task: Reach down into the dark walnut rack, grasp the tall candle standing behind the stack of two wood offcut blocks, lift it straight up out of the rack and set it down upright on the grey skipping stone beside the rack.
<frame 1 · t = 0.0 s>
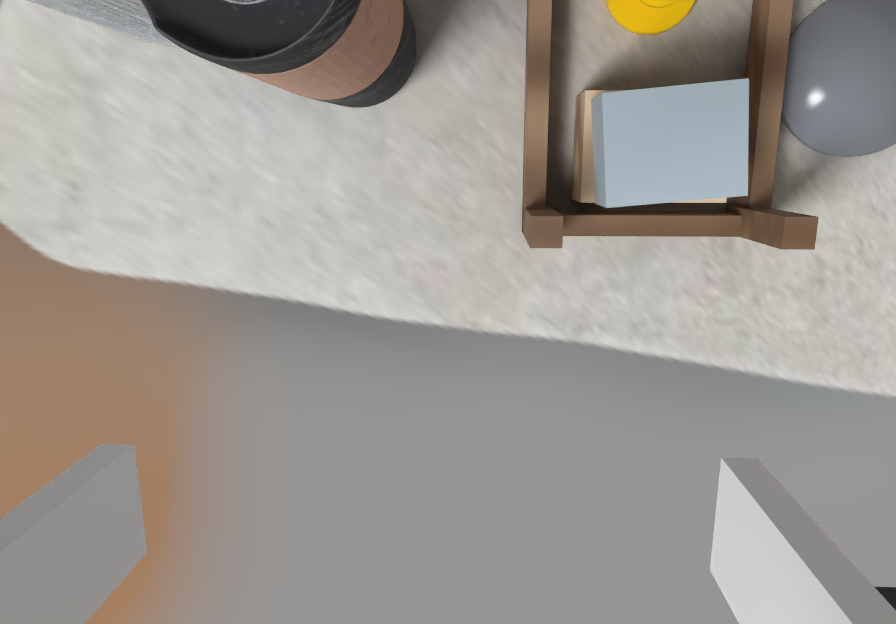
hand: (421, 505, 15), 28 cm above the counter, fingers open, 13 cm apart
rack: (645, 60, 38), on the counter
offcut upper: (657, 146, 36), point 4 cm above the counter, touching offcut lower
grey skipping stone: (855, 76, 38), on the counter
offcut lower: (639, 148, 40), resting in rack, touching offcut upper
travel mug: (358, 46, 39), on the counter
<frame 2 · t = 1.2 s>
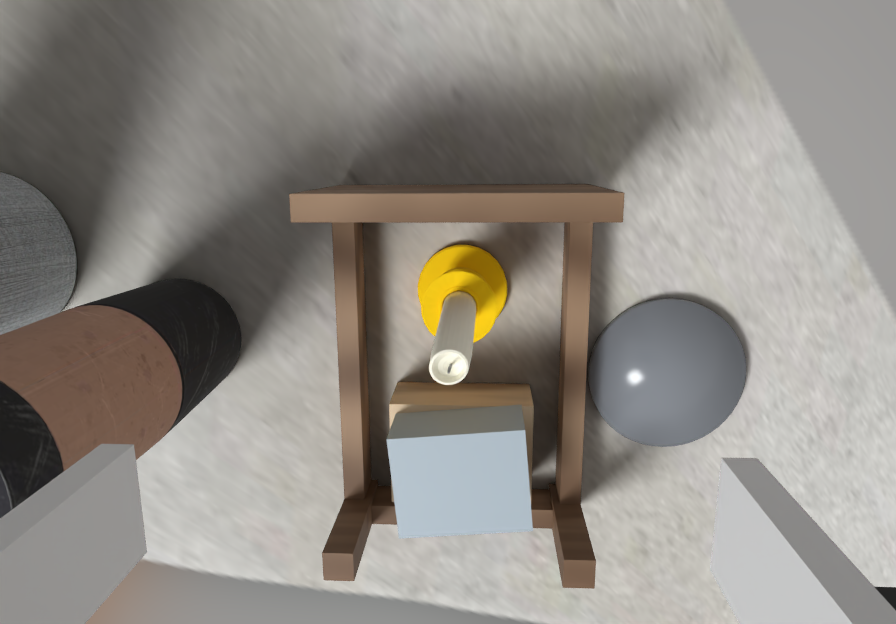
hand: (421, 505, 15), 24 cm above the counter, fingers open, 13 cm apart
rack: (462, 353, 39), on the counter
offcut upper: (462, 455, 37), point 4 cm above the counter, touching offcut lower
vase: (2, 253, 40), on the counter
grey skipping stone: (664, 372, 39), on the counter
candle: (462, 287, 39), resting in rack
offcut lower: (463, 427, 41), resting in rack, touching offcut upper
travel mug: (186, 334, 40), on the counter
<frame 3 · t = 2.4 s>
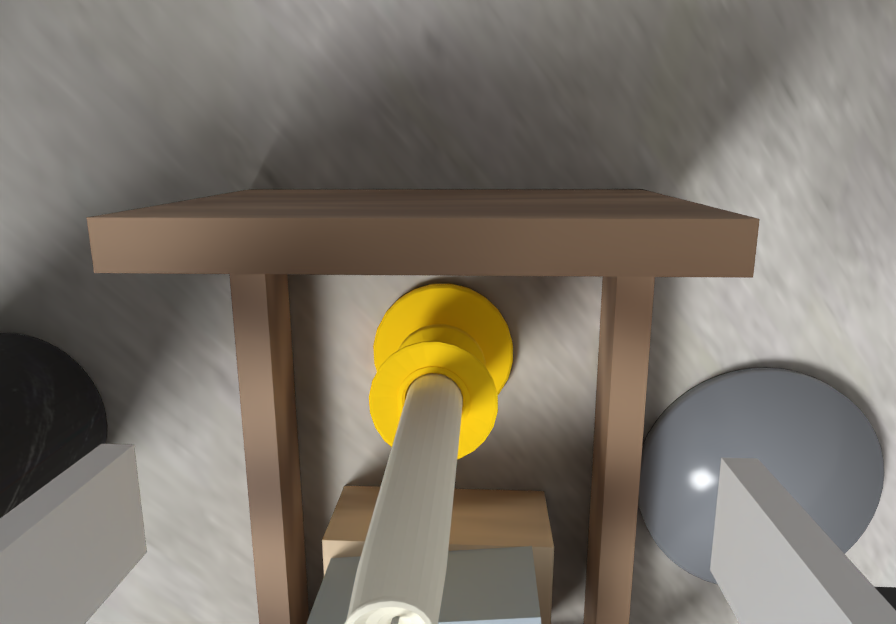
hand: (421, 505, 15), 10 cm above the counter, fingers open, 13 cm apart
rack: (444, 447, 26), on the counter
offcut upper: (438, 621, 23), point 4 cm above the counter
grey skipping stone: (753, 477, 25), on the counter
candle: (443, 348, 25), resting in rack
offcut lower: (443, 551, 27), resting in rack
travel mug: (25, 414, 26), on the counter
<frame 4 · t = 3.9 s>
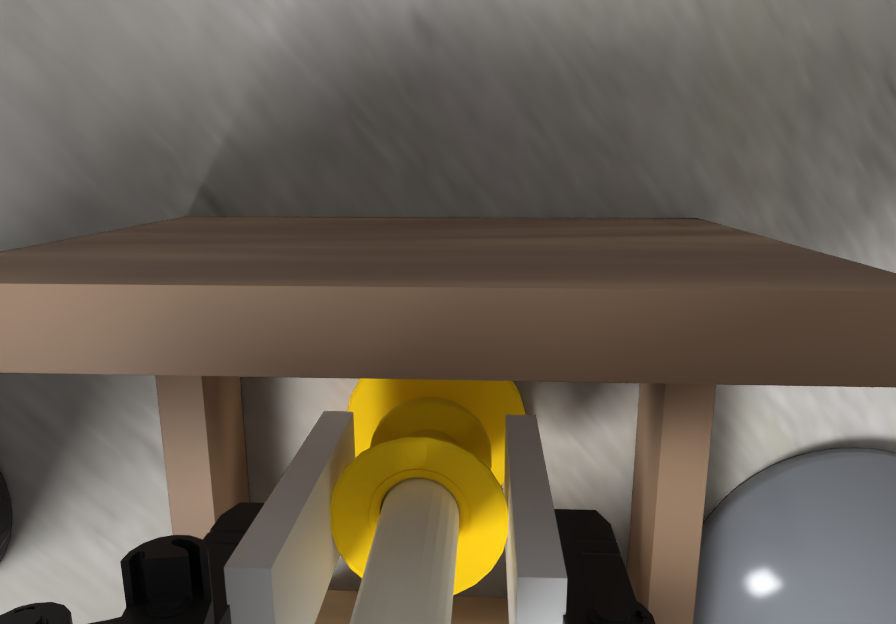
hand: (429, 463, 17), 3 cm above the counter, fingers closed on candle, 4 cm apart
rack: (437, 544, 20), on the counter
grey skipping stone: (835, 586, 20), on the counter
candle: (437, 420, 19), resting in rack, touching gripper
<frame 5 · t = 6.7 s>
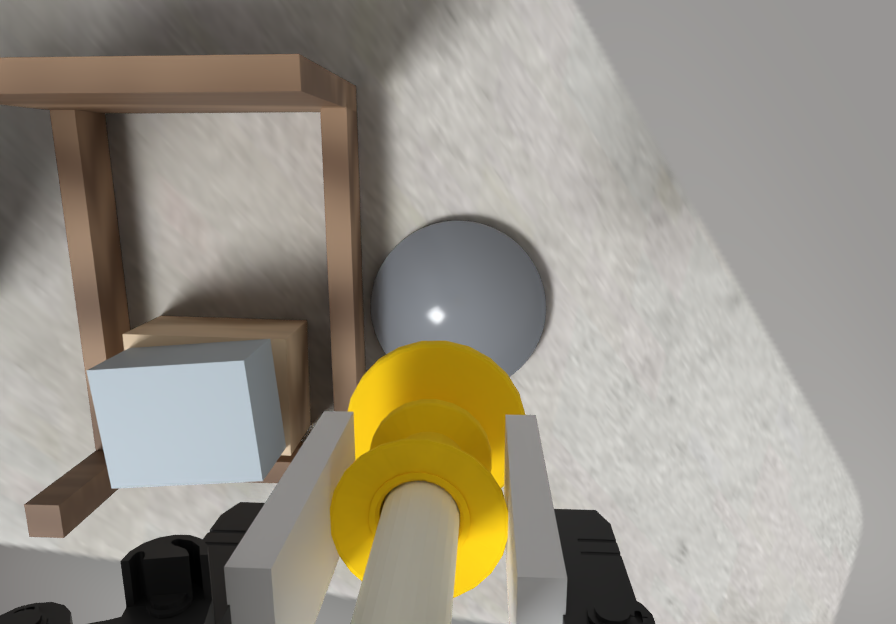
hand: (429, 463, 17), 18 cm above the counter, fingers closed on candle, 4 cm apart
rack: (231, 286, 35), on the counter
offcut upper: (208, 398, 32), point 4 cm above the counter, touching offcut lower
grey skipping stone: (458, 306, 34), on the counter
candle: (437, 421, 19), point 15 cm above the counter, touching gripper
offcut lower: (237, 370, 36), resting in rack, touching offcut upper
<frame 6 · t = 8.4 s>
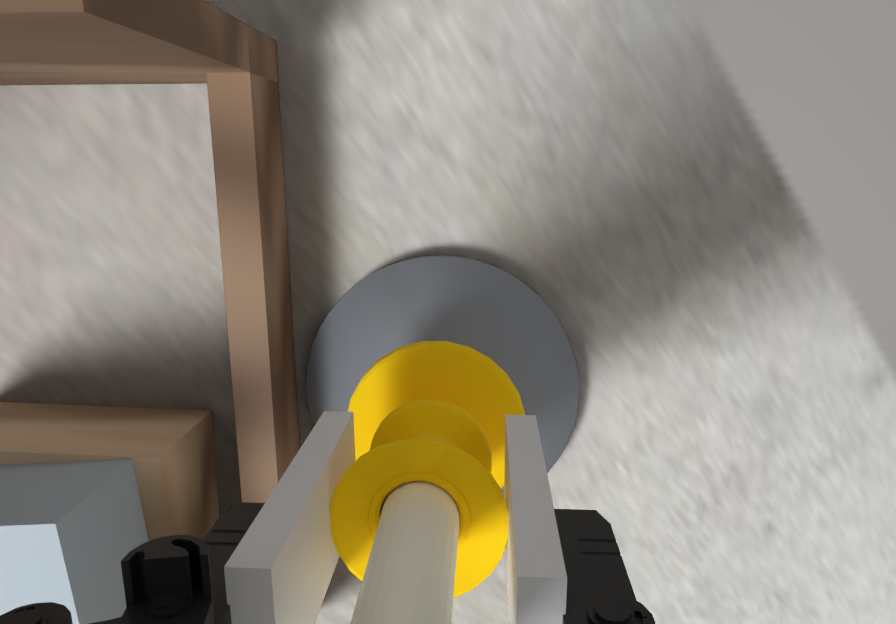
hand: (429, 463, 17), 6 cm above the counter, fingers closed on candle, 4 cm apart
rack: (93, 354, 22), on the counter
offcut upper: (39, 548, 20), point 4 cm above the counter, touching offcut lower
grey skipping stone: (442, 387, 22), on the counter
candle: (437, 422, 19), point 3 cm above the counter, touching gripper
offcut lower: (112, 480, 24), resting in rack, touching offcut upper
when the fingers open (5 cm above the counter, at t = 8.8 s): candle drops 1 cm, resting on grey skipping stone.
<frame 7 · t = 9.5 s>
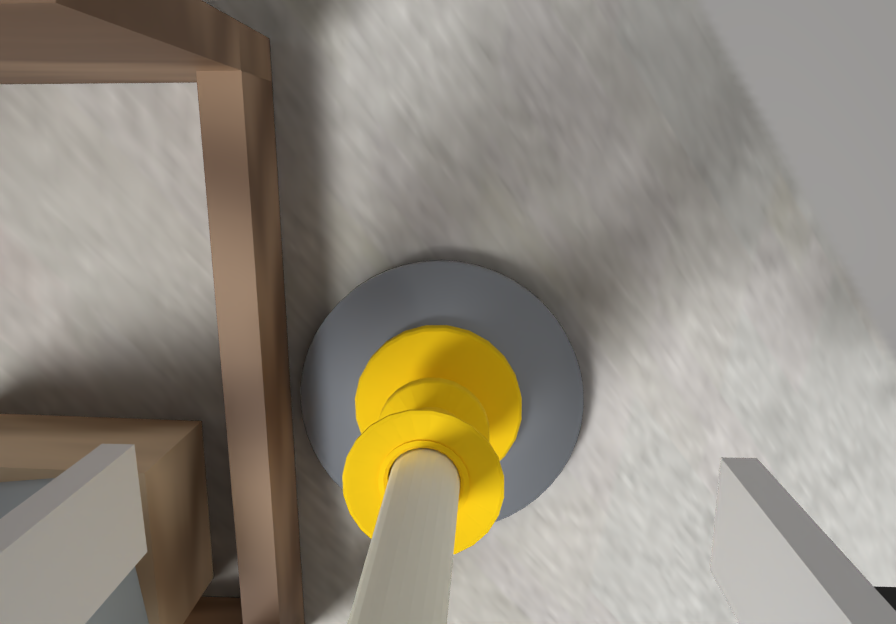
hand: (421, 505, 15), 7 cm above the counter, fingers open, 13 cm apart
rack: (82, 361, 22), on the counter
offcut upper: (21, 568, 19), point 4 cm above the counter, touching offcut lower
grey skipping stone: (441, 396, 21), on the counter
candle: (439, 401, 21), resting on grey skipping stone
offcut lower: (99, 493, 23), resting in rack, touching offcut upper
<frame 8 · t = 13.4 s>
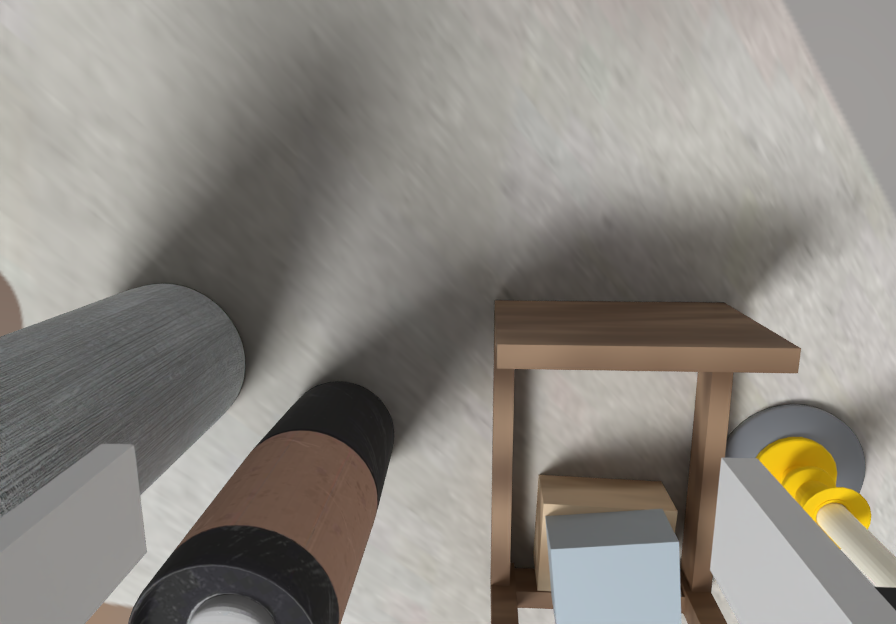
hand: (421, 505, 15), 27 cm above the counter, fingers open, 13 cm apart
rack: (600, 451, 43), on the counter
offcut upper: (605, 553, 40), point 4 cm above the counter, touching offcut lower
vase: (173, 355, 43), on the counter
grey skipping stone: (787, 469, 42), on the counter
candle: (789, 472, 42), resting on grey skipping stone
offcut lower: (595, 517, 44), resting in rack, touching offcut upper
travel mug: (342, 430, 43), on the counter
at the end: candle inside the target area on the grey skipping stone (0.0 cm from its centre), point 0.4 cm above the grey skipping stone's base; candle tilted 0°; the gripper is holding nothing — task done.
